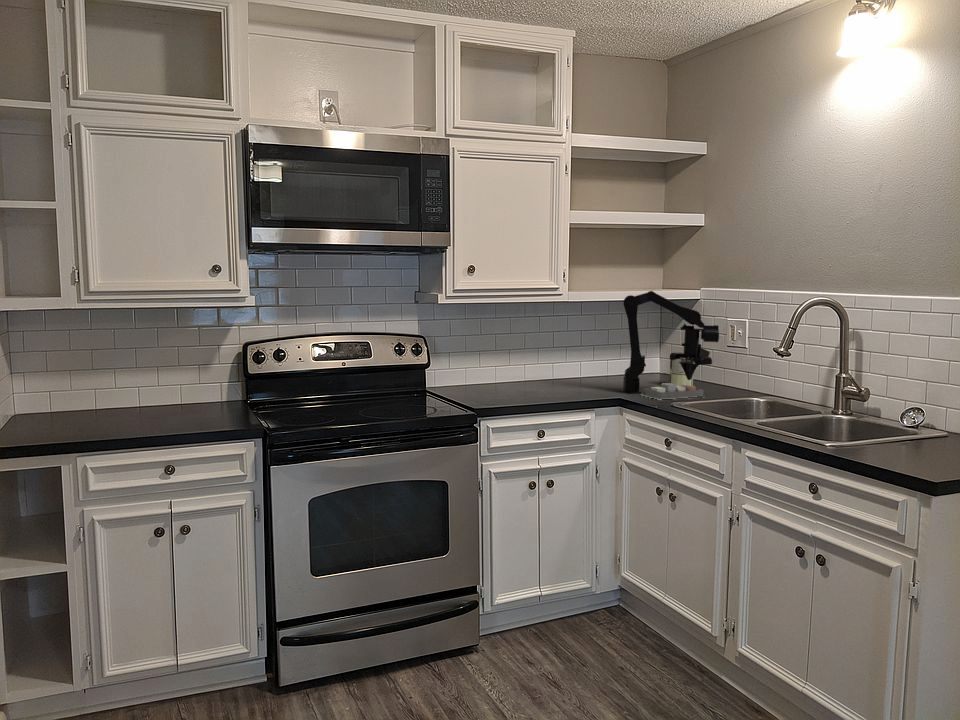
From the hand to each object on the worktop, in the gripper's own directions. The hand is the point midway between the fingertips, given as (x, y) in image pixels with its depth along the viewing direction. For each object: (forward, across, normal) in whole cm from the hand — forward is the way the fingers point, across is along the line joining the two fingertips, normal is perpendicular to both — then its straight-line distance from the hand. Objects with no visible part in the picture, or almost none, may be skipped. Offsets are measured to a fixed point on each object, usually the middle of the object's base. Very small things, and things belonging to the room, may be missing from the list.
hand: (689, 379), depth 316 cm
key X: (+4, 0, +10) cm, 11 cm away
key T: (+5, 0, 0) cm, 5 cm away
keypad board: (+6, 0, +8) cm, 10 cm away
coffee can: (+7, +20, -14) cm, 25 cm away
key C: (+5, 0, +5) cm, 8 cm away
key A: (+5, 0, +16) cm, 17 cm away
